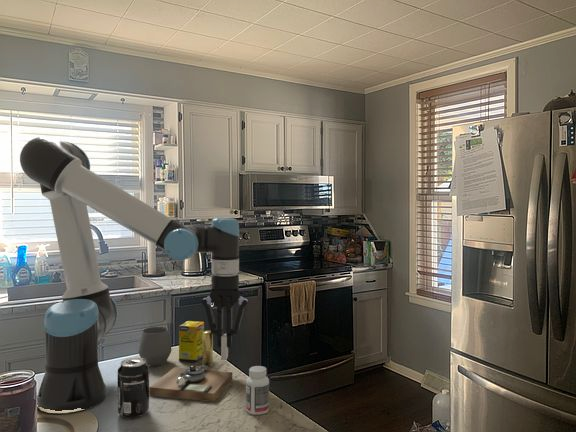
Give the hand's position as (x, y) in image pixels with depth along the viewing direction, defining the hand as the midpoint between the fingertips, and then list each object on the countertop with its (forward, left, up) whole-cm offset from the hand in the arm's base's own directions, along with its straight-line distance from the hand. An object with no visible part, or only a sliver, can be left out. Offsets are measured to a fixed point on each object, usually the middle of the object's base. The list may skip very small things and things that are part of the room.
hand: (224, 358), depth 128 cm
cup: (-23, +5, -5) cm, 24 cm away
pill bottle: (+15, -18, -5) cm, 24 cm away
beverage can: (-12, -26, -5) cm, 30 cm away
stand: (-5, -9, -5) cm, 12 cm away
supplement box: (-14, +11, -5) cm, 18 cm away
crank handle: (-5, -8, -3) cm, 10 cm away
